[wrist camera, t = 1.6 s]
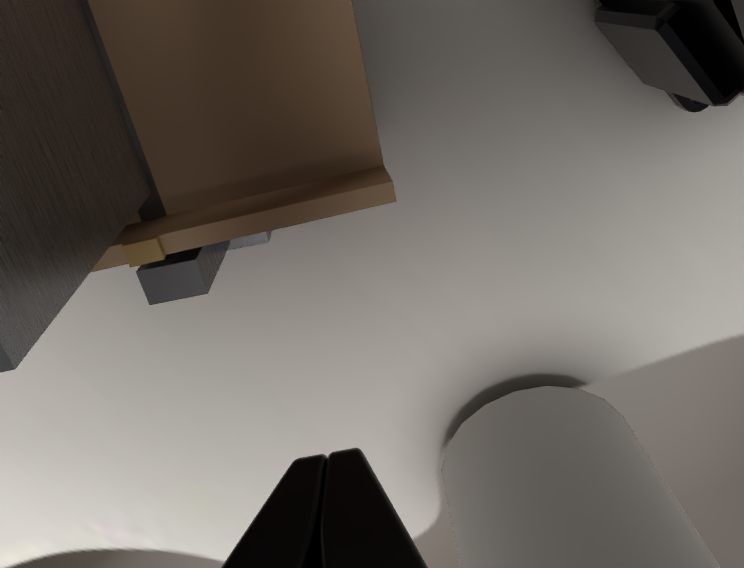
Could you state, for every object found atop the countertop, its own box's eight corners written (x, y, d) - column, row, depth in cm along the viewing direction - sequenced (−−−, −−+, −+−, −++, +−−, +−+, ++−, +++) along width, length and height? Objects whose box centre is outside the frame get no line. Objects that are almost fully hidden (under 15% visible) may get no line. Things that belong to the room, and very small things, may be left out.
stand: (150, -180, 15) (84, -236, 11) (271, 232, 20) (253, 291, 16) (-2, -143, 15) (-117, -185, 12) (154, 256, 20) (109, 320, 16)
